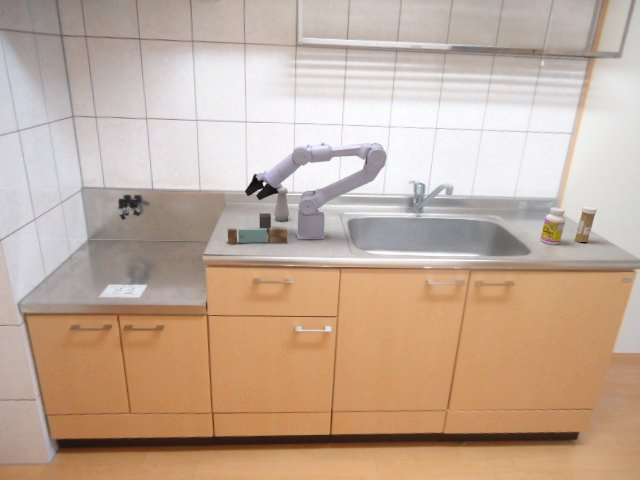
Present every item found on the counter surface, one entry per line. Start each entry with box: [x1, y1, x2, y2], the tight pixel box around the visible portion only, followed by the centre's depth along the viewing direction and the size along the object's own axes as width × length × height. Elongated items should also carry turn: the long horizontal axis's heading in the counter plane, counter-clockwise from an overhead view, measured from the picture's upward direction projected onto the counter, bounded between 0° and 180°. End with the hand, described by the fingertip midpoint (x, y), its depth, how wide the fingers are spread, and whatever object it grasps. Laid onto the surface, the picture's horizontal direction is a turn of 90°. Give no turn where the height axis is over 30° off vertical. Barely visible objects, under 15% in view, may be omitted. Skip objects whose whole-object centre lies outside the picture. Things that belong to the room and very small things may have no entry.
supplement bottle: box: [540, 206, 566, 246], centre depth 166 cm, size 7×7×13 cm
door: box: [237, 227, 268, 244], centre depth 154 cm, size 10×2×5 cm, turn 99°
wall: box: [227, 227, 288, 245], centre depth 154 cm, size 20×2×5 cm, turn 99°
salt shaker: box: [273, 187, 290, 222], centre depth 176 cm, size 6×6×13 cm
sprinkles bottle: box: [574, 205, 598, 243], centre depth 168 cm, size 5×5×13 cm
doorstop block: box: [258, 212, 272, 233], centre depth 166 cm, size 4×4×6 cm
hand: (252, 195), depth 159 cm, fingers open, 7 cm apart
